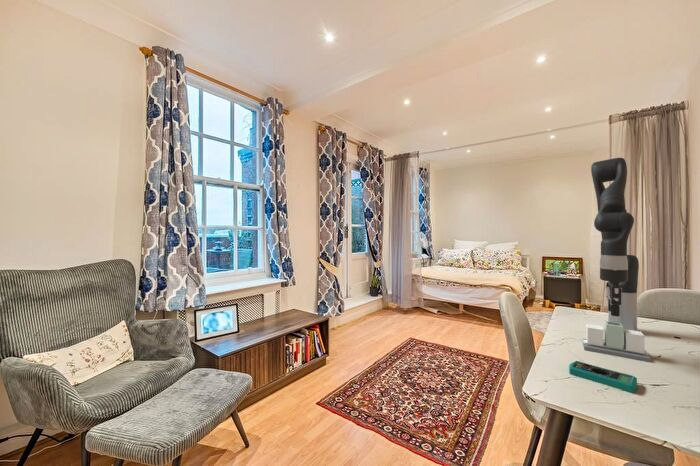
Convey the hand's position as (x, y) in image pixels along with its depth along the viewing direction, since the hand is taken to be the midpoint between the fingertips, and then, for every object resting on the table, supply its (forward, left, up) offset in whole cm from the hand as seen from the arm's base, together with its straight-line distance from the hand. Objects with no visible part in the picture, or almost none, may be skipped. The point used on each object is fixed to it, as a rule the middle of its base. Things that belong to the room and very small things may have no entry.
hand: (613, 313), depth 105 cm
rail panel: (0, 0, -14) cm, 14 cm away
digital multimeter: (+29, -6, -14) cm, 33 cm away
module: (0, 0, -12) cm, 12 cm away
